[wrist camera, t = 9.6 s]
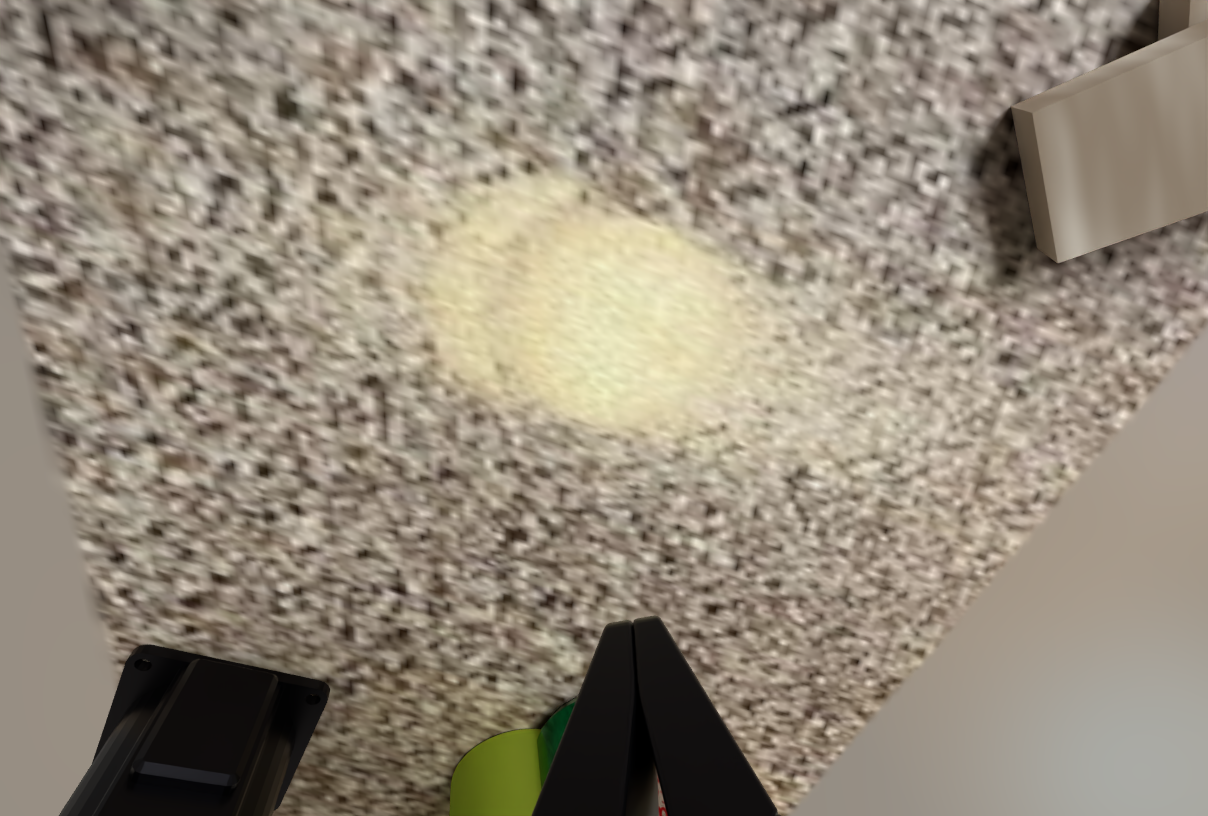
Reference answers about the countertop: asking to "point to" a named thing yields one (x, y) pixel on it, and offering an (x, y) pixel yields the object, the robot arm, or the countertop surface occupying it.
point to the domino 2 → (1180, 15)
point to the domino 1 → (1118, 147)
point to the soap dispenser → (498, 777)
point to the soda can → (552, 738)
